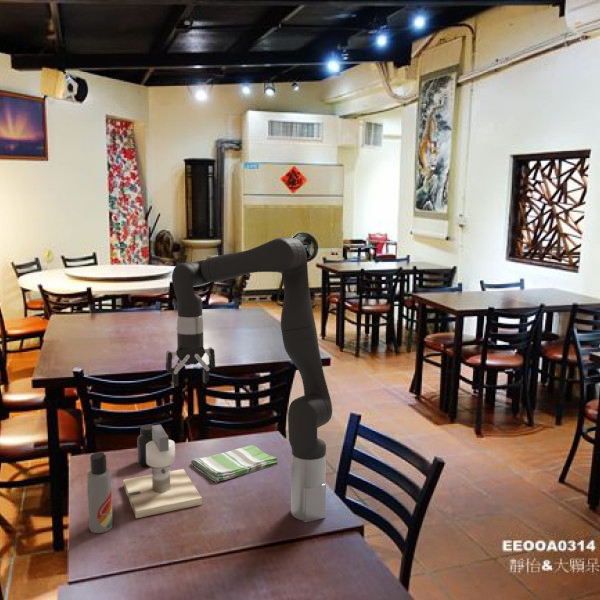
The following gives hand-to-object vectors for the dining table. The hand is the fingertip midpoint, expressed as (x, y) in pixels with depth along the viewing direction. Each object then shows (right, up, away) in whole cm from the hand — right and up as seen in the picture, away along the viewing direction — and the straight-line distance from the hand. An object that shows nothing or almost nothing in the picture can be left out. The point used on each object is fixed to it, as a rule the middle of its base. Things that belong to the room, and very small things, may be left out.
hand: (190, 383), depth 175 cm
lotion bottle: (-19, -34, -23) cm, 45 cm away
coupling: (-7, -21, -7) cm, 23 cm away
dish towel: (+11, -29, +16) cm, 35 cm away
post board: (-7, -31, -5) cm, 32 cm away
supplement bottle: (-16, -28, +15) cm, 36 cm away
